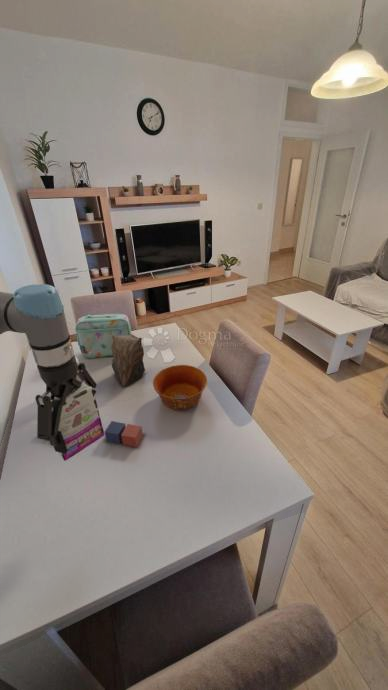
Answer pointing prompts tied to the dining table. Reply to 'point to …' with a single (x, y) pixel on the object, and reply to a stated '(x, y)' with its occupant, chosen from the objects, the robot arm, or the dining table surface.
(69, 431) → the candy bar box
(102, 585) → the dining table surface
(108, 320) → the lunch box
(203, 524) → the dining table surface
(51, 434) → the robot arm
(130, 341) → the brown rock
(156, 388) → the bowl
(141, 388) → the dining table surface
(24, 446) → the dining table surface
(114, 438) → the block
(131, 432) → the block
